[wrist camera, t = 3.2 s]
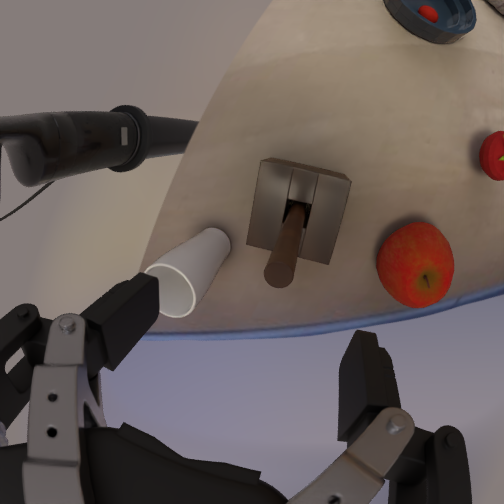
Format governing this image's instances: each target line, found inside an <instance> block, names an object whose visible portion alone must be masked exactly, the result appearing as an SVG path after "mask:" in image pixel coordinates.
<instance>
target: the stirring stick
mask: <svg viewBox="0 0 504 504" xmlns="http://www.w3.org/2000/svg"><path fill="white" fill-rule="evenodd" d="M306 206H307V203H303V202H299V201H295V200H294V201H293V203H292V205H291V208H290V210H289V213H288V215H287V217H286V220H285V222H284V225H283V227H282V229H281V232H280V234H279V237H278V239H277V241H276V244H275V246H274V249H273V251H272V253H271V256H270V258H269V260H268V263H267V265H266V267H265V270H264V277H265V280H266V281H267V283H268V284H269V285H271V286H273V287H275V288H284V287H286V286H288V285H289V284H290V283H291V282H292V280H293V277H294V272H295V267H296V262H297V257H298V251H299V246H300V240H301V235H302V229H303V223H304V218H305V212H306Z"/></svg>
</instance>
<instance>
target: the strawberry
mask: <svg viewBox="0 0 504 504" xmlns="http://www.w3.org/2000/svg"><path fill="white" fill-rule="evenodd" d="M479 158H480V164H481V167H482V169H483V171H484V172H485V173H486V174H487V175H488V176H489V177H490V178H492V179H493V180H497V181H500V180H504V131H497V132H495V133H493V134H491V135H489V136H488V137H487V138H486V139H485V140H484V142H483V144H482V146H481V149H480V153H479Z"/></svg>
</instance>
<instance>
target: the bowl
mask: <svg viewBox="0 0 504 504" xmlns="http://www.w3.org/2000/svg"><path fill="white" fill-rule="evenodd" d="M384 1H385V4H386V6H387V8H388V9H389V10H390V12H391V13H392V15H393V16H394V17H395V18H396V19H397V20H398V21H399V22H400V23H401V24H402V25H403V26H404V27H405V28H407V29H408V30H410V31H411V32H413V33H414V34H416V35H417V36H419V37H422V38H424V39H426V40H429V41H431V42H436V43H442V44H446V43H452V42H455V41H456V40H458V39H459V38H461V37H462V36H464V35H465V34H467V33H468V32H469V31H471V30H472V29H474V26H475V23H476V12H475V8H474V6H473V4H472V2H471V0H384ZM424 5H426V6H430V7H432V8H433V9H434V10H435V11H436V12H437V14H438V21H437V22H436V23H433V22H430V21H429V20H428V19H426V18H425V17H423V16H422V15H420V14H419V13H418V9H419V8H420V7H421V6H424Z"/></svg>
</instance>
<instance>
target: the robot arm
mask: <svg viewBox="0 0 504 504" xmlns="http://www.w3.org/2000/svg"><path fill="white" fill-rule="evenodd" d="M140 144H141V128H140V125H139V122H138V121H137V119H136V118H135V117H134V116H133V115H132V114H130V113H127V112H98V111H97V112H96V111H69V112H67V111H66V112H45V113H33V114H25V115H16V116H3V117H0V199H1V147H2V145H3V146H4V148H5V150H6V152H7V154H8V157H9V161H10V164H11V167H12V170H13V173H14V175H15V177H16V179H17V180H18V181H19V182H20V183H21V184H22V185H23V186H26V187H34V186H38V185H41V184H45V183H47V184H46V185H45V186H43V187H42V188H41V189H40V190H39V191H38V192H36V193H35V194H34V195H33V196H32V197H30V198H29V199H28V200H27V201H25V202H24V203H23V204H21V205H20V206H19V207H17V208H16V209H14V210H13V211H11V212H10V213H8V214H7V215H5V216H4V217H2V218H0V221H1V220H3V219H5V218H7V217H8V216H10V215H11V214H13V213H15V212H16V211H17V210H19V209H20V208H22V207H23V206H24V205H26V204H27V203H28V202H29V201H31V200H32V199H34V198H35V197H36V196H37V195H38V194H40V193H41V192H42V191H43V190H45V189H46V188H47V187H48V186H49V185H51V184H52V183H53V182H54V181H55V180H59V179H62V178H65V177H69V176H73V175H77V174H81V173H85V172H89V171H93V170H98V169H103V168H108V167H113V166H120V165H125V164H127V163H129V162H130V161H131V160H132V159H133V158H134V157H135V156H136V154H137V152H138V150H139V148H140ZM159 310H160V303H159V280H158V278H157V277H155V276H151V275H148V274H145V273H142V272H140V273H138V274H137V275H136V276H135V277H133V278H132V279H131V280H130V281H129V280H126V281H123V282H121V283H118V284H116V285H115V286H114V287H112V288H111V289H110V290H109V291H108V292H106V293H105V294H104V295H102V297H100V298H99V299H98V300H96V301H95V302H94V303H93V304H92V305H90V306H89V307H88V308H87V309H85V310H84V311H83V312H82V313H81V314H80V315H77V314H72V313H68V314H63V315H60V316H58V317H57V318H55V319H54V320H50V319H46V318H42V317H40V314H39V312H38V308H37V307H36V306H35V305H32V304H21V305H19V306H17V307H15V308H14V309H12V310H11V311H10V312H9V313H8V314H6V315H5V316H4V317H3V318H2V319H0V504H369V503H370V501H371V500H372V499H373V498H374V497H375V495H376V494H377V493H378V491H380V489H381V488H382V486H383V485H384V483H385V480H384V479H387V480H390V481H389V497H388V504H472V494H471V482H470V473H469V465H468V458H467V452H466V446H465V441H464V437H463V435H462V434H461V432H460V431H459V430H458V429H456V428H455V427H453V426H449V425H447V426H442V427H440V428H439V429H438V430H437V431H436V432H435V433H433V432H429V431H426V430H423V429H420V428H418V427H415V424H414V421H413V419H412V417H411V416H410V415H409V413H407V412H406V411H405V410H403V409H401V404H400V398H399V393H398V387H397V382H396V379H395V373H394V370H393V364H392V359H391V357H390V355H389V354H388V352H387V351H386V350H385V348H381V347H379V345H378V340H377V336H376V334H375V333H371V332H367V331H362V330H357V331H355V333H354V335H353V337H352V339H351V341H350V343H349V346H348V348H347V350H346V352H345V354H344V356H343V358H342V360H341V363H340V368H339V414H338V441H344V442H347V449H346V450H345V451H344V452H343V453H342V454H341V455H340V456H339V457H338V458H337V459H336V460H335V461H334V462H333V463H332V464H331V465H330V466H329V467H328V468H327V469H325V470H324V471H323V472H322V473H321V474H320V475H319V476H318V477H316V478H315V479H314V480H313V481H312V482H311V483H309V484H308V485H307V486H306V487H305V488H304V489H302V490H301V491H300V492H298V493H297V494H296V495H295V496H293V497H292V498H291V499H289V500H287V499H286V497H285V496H284V495H283V494H282V493H280V492H279V491H278V490H277V489H275V488H274V487H273V486H271V485H269V484H268V483H266V482H264V481H262V480H260V479H259V478H260V474H261V472H260V471H256V470H251V469H247V468H243V467H239V466H235V465H232V464H228V463H222V462H212V461H202V460H194V459H188V458H184V457H182V456H181V455H179V454H177V453H176V452H175V451H173V450H172V449H170V448H169V447H167V446H166V445H165V444H163V443H162V442H160V441H159V440H158V439H156V438H155V437H153V436H151V435H149V434H147V433H145V432H143V431H140V430H138V429H136V428H134V427H132V426H130V425H128V424H126V423H124V422H123V424H122V425H121V427H120V428H119V429H118V428H111V427H107V424H106V421H105V418H104V413H103V405H102V393H101V377H100V372H99V371H100V370H101V368H102V367H103V366H104V367H105V368H107V369H109V370H111V371H114V370H115V369H116V367H117V366H118V365H119V364H120V363H121V361H122V360H123V359H124V358H125V357H126V355H127V354H128V353H129V352H130V351H131V349H132V348H133V347H134V346H135V345H136V343H137V342H138V341H139V340H140V339H141V338H142V336H143V335H144V334H145V333H146V332H147V331H148V329H149V328H150V327H151V326H152V325H153V324H154V322H155V321H156V320H157V317H158V315H159ZM20 347H21V348H22V350H23V353H24V355H25V356H24V357H23V358H22V359H21V360H20V361H19V362H18V363H17V364H16V365H15V366H14V367H13V368H12V369H11V371H10V372H9V373H8V374H6V372H5V364H6V362H7V361H8V359H9V358H10V357H11V356H12V355H13V354H14V353H15V352H16V351H17V350H19V348H20ZM29 400H30V403H29V414H28V433H27V434H28V435H27V443H21V444H15V445H9V446H8V439H7V438H6V437H5V436H6V430H7V429H8V427H9V426H10V424H11V423H12V422H13V421H14V419H15V418H16V417H17V415H18V414H19V413H20V412H21V410H22V409H23V408H24V406H25V405H26V404H27V403H28V402H29ZM383 478H384V479H383Z"/></svg>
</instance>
